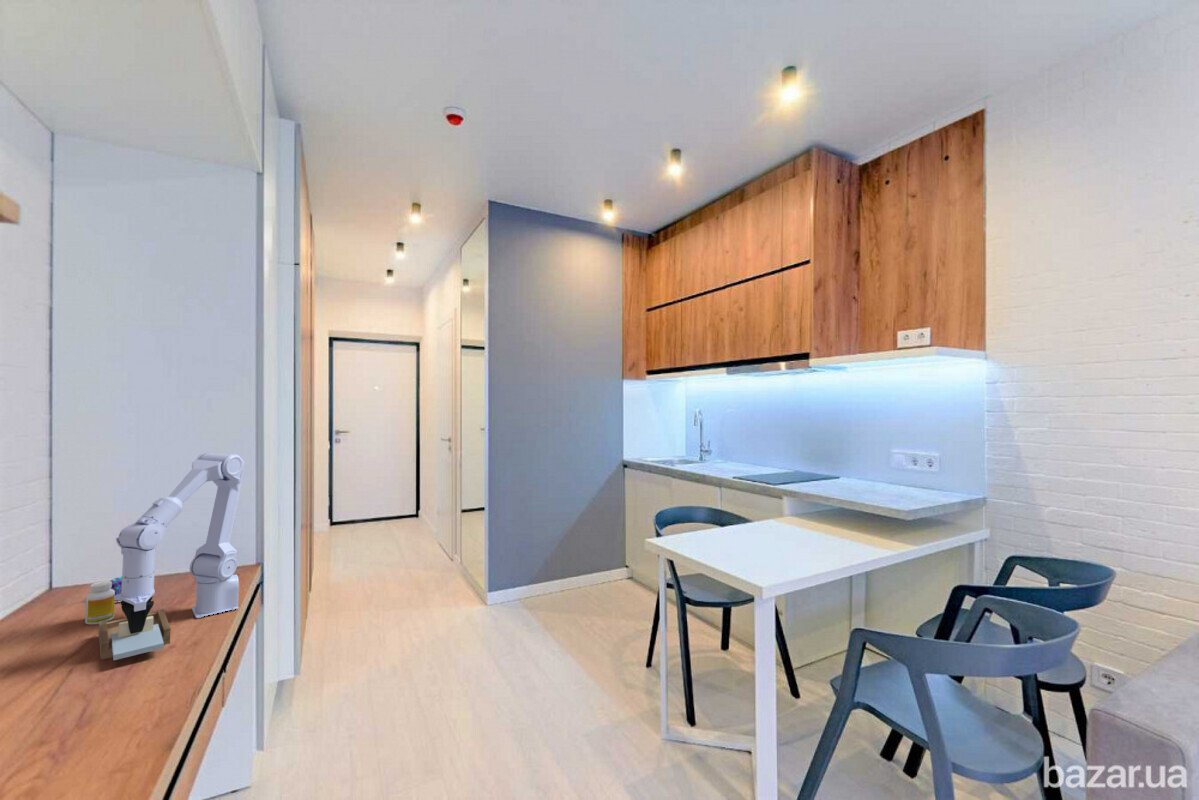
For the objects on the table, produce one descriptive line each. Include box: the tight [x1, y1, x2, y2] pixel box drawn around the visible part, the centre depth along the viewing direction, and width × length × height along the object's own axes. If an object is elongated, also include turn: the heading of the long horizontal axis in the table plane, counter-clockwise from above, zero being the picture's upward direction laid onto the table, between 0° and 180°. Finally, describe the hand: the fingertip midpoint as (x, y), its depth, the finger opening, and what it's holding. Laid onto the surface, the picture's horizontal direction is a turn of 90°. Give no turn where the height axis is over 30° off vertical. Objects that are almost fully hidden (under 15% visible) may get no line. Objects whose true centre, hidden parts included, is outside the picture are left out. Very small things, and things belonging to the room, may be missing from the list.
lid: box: [111, 616, 165, 661], centre depth 118 cm, size 8×12×4 cm
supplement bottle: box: [84, 580, 116, 626], centre depth 131 cm, size 5×5×10 cm
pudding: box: [110, 576, 122, 603], centre depth 146 cm, size 12×12×5 cm
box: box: [98, 608, 172, 661], centre depth 123 cm, size 12×14×4 cm
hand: (136, 630), depth 120 cm, fingers closed on lid, 2 cm apart
